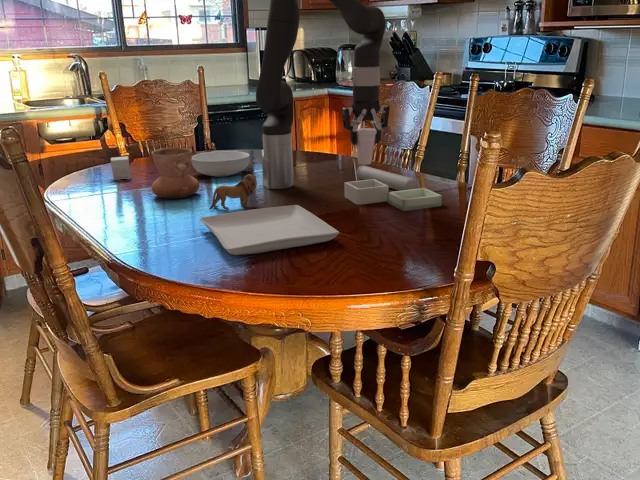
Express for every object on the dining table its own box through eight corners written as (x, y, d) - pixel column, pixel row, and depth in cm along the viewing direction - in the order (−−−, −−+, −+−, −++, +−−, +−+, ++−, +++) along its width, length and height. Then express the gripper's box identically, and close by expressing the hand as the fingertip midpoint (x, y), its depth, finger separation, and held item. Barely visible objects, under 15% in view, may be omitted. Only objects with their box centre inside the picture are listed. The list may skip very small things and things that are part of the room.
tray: (403, 210, 162) (403, 200, 161) (387, 202, 171) (387, 192, 170) (441, 206, 165) (442, 195, 165) (424, 197, 174) (424, 187, 173)
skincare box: (131, 176, 214) (128, 155, 212) (131, 179, 209) (128, 158, 206) (113, 177, 213) (110, 157, 210) (113, 181, 207) (110, 160, 205)
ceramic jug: (209, 197, 181) (204, 151, 177) (162, 205, 174) (157, 157, 169) (187, 186, 196) (183, 144, 191) (144, 193, 188) (138, 149, 184)
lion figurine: (254, 201, 175) (252, 171, 173) (261, 205, 171) (259, 175, 168) (206, 209, 169) (203, 178, 166) (212, 213, 165) (209, 181, 162)
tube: (422, 180, 180) (370, 166, 200) (409, 176, 177) (358, 163, 197) (417, 196, 181) (366, 181, 201) (405, 194, 178) (354, 179, 197)
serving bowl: (261, 175, 210) (260, 155, 208) (206, 184, 199) (204, 163, 197) (234, 166, 227) (233, 148, 225) (183, 173, 216) (181, 155, 214)
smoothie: (352, 161, 174) (353, 113, 170) (374, 160, 175) (375, 112, 170) (355, 165, 168) (356, 115, 164) (377, 165, 169) (379, 115, 164)
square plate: (227, 264, 127) (226, 247, 126) (199, 230, 151) (198, 215, 150) (341, 245, 137) (340, 229, 136) (298, 216, 161) (297, 202, 160)
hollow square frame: (357, 204, 169) (357, 189, 168) (344, 196, 178) (344, 182, 176) (388, 201, 172) (388, 185, 171) (374, 193, 181) (374, 179, 179)
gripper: (384, 81, 170) (382, 140, 175) (337, 83, 165) (337, 143, 171) (395, 83, 163) (393, 144, 169) (347, 85, 159) (346, 147, 164)
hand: (365, 143), depth 170 cm, fingers closed on smoothie, 6 cm apart
